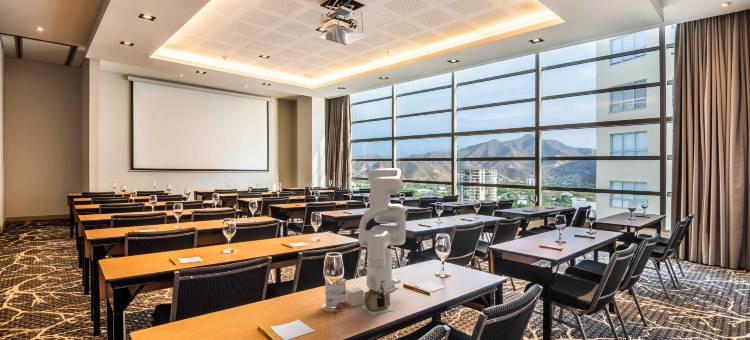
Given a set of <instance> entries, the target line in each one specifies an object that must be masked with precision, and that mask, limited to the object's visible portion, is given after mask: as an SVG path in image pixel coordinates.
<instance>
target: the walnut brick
mask: <svg viewBox="0 0 750 340" xmlns="http://www.w3.org/2000/svg"><path fill="white" fill-rule="evenodd" d="M380 290H382V289H380ZM381 293H382V292H380V294H381ZM390 293H391V292H388V291H387V293H386V295H385V306H384V307H391V295H390ZM363 294H364V306H365V307H367V308H369V309H370V310H376V309H380V308H384V307H380V308H378V303H377V298H378V293H377V292H375V291H369V290H368V291H365V292H364V291H363Z"/></svg>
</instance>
